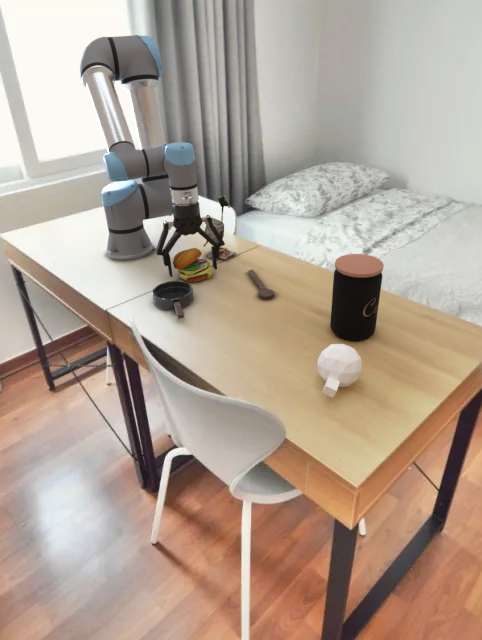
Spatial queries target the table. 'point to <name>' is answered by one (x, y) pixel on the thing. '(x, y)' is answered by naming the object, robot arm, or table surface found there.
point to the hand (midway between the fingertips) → (193, 271)
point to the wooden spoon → (261, 287)
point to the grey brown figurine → (219, 230)
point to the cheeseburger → (192, 265)
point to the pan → (173, 294)
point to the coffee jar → (355, 296)
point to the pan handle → (178, 310)
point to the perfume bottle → (338, 367)
